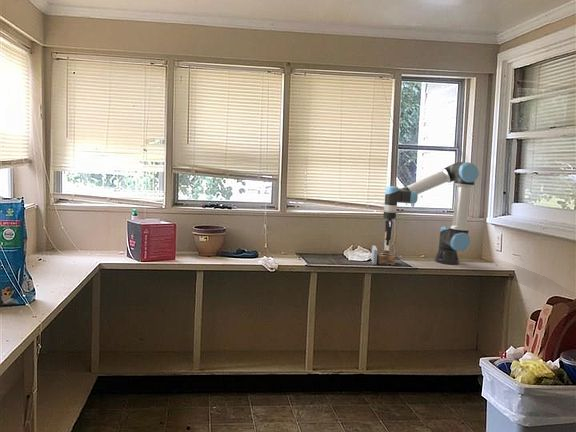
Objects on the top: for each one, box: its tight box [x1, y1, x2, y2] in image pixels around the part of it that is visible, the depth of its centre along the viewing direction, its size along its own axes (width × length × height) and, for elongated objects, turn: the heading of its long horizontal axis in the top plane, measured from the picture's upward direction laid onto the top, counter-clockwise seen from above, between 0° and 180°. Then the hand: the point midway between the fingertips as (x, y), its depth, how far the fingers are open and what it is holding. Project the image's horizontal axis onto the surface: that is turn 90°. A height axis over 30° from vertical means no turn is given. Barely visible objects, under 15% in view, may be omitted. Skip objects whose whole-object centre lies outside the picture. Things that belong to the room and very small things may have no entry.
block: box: [377, 252, 396, 266], centre depth 371 cm, size 10×10×5 cm
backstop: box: [370, 245, 379, 266], centre depth 371 cm, size 2×16×9 cm, turn 177°
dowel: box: [382, 231, 390, 254], centre depth 370 cm, size 3×3×13 cm
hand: (386, 249), depth 371 cm, fingers closed on dowel, 3 cm apart
